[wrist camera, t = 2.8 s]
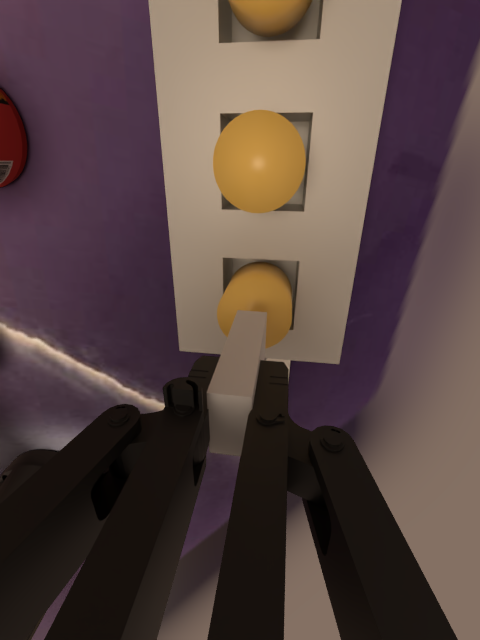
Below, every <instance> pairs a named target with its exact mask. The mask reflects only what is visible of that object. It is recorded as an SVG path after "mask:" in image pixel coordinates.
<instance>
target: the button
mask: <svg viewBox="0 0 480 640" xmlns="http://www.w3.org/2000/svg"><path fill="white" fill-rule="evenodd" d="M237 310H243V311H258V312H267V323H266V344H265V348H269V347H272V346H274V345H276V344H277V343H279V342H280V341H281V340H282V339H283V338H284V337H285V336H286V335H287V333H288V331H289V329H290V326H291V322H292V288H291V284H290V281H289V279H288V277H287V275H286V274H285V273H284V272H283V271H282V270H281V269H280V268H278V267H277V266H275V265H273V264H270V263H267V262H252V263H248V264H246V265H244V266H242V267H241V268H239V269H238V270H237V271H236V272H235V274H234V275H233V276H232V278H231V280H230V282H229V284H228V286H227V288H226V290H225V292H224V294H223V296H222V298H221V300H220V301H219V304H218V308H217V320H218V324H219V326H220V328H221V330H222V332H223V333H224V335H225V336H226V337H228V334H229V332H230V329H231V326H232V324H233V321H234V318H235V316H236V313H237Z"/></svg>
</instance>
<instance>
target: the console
mask: <svg viewBox="0 0 480 640" xmlns="http://www.w3.org/2000/svg"><path fill="white" fill-rule="evenodd" d="M401 2H402V0H312V2H311V5H310V7H309V8H308V10H307V12H306V13H305V15H304V16H303V18H302V19H301V20H300V21H299V22H298V23H297V24H296V25H295V26H294V27H293V28H292V29H290V30H289V31H287V32H285V33H283V34H281V35H278V36H273V37H262V36H258V35H255V34H253V33H251V32H250V31H248V30H247V29H246V28H244V27H243V26H242V25H241V24H240V22H239V21H238V20H237V18H236V17H235V15H234V13H233V11H232V9H231V6H230V4H229V1H228V0H149V11H150V22H151V33H152V45H153V56H154V67H155V78H156V90H157V101H158V112H159V123H160V135H161V146H162V157H163V169H164V180H165V191H166V202H167V214H168V225H169V236H170V247H171V259H172V270H173V281H174V292H175V304H176V315H177V326H178V337H179V349H180V351H187V352H199V353H211V354H221V353H222V350H223V348H224V345H225V342H226V340H227V337H226V336H225V335H224V333H223V332H222V330H221V328H220V326H219V324H218V320H217V308H218V304H219V301H220V300H221V298H222V296H223V294H224V292H225V290H226V288H227V286H228V284H229V282H230V280H231V278H232V276H233V275H234V274H235V272H236V271H237V270H238V269H239V268H241V267H242V266H244V265H246V264H248V263H252V262H267V263H270V264H273V265H275V266H277V267H278V268H280V269H281V270H282V271H283V272H284V273H285V274H286V275H287V277H288V279H289V281H290V284H291V288H292V322H291V326H290V329H289V331H288V333H287V335H286V336H285V337H284V338H283V339H282V340H281V341H280V342H279V343H277V344H276V345H274V346H272V347H269V348H265V358H271V359H283V360H295V361H307V362H319V363H331V364H339V362H340V356H341V351H342V345H343V339H344V333H345V327H346V322H347V316H348V310H349V304H350V298H351V293H352V287H353V281H354V275H355V269H356V263H357V258H358V252H359V246H360V240H361V234H362V229H363V223H364V217H365V211H366V205H367V199H368V194H369V188H370V182H371V176H372V170H373V165H374V159H375V153H376V147H377V141H378V136H379V130H380V124H381V118H382V112H383V106H384V101H385V95H386V89H387V83H388V77H389V72H390V66H391V60H392V54H393V48H394V42H395V37H396V31H397V25H398V19H399V13H400V8H401ZM252 110H268V111H273V112H275V113H278V114H280V115H282V116H283V117H285V118H286V119H287V120H289V121H290V122H291V123H292V124H293V126H294V127H295V128H296V130H297V131H298V133H299V135H300V137H301V139H302V142H303V144H304V149H305V156H306V165H305V172H304V176H303V179H302V182H301V184H300V186H299V188H298V190H297V191H296V193H295V194H294V195H293V197H292V198H291V199H290V200H289V201H288V202H287V203H285V204H284V205H283V206H281V207H280V208H278V209H276V210H273V211H270V212H266V213H250V212H246V211H243V210H241V209H239V208H237V207H235V206H234V205H232V204H231V203H230V202H229V201H228V200H227V199H226V198H225V197H224V196H223V194H222V193H221V191H220V189H219V187H218V185H217V183H216V180H215V176H214V171H213V155H214V149H215V146H216V143H217V140H218V138H219V136H220V134H221V132H222V131H223V130H224V128H225V127H226V126H227V125H228V124H229V123H230V122H231V121H232V120H233V119H234V118H236V117H237V116H239V115H241V114H243V113H245V112H248V111H252Z"/></svg>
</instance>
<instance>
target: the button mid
mask: <svg viewBox="0 0 480 640" xmlns="http://www.w3.org/2000/svg"><path fill="white" fill-rule="evenodd" d="M305 165H306V156H305V149H304V144H303V142H302V139H301V137H300V135H299V133H298V131H297V130H296V128H295V127H294V126H293V124H292V123H291V122H290V121H289V120H287V119H286V118H285V117H283V116H282V115H280V114H278V113H275V112H273V111H268V110H252V111H248V112H245V113H243V114H241V115H239V116H237V117H236V118H234V119H233V120H232V121H231V122H230V123H229V124H228V125H227V126H226V127H225V128H224V130H223V131H222V132H221V134H220V136H219V138H218V140H217V143H216V146H215V149H214V155H213V171H214V176H215V180H216V183H217V185H218V187H219V189H220V191H221V193H222V194H223V196H224V197H225V198H226V199H227V200H228V201H229V202H230V203H231V204H232V205H234V206H235V207H237V208H239V209H241V210H243V211H246V212H250V213H266V212H270V211H273V210H276V209H278V208H280V207H281V206H283V205H284V204H285V203H287V202H288V201H289V200H290V199H291V198H292V197H293V195H294V194H295V193H296V191H297V190H298V188H299V186H300V184H301V182H302V179H303V176H304V172H305Z"/></svg>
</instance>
